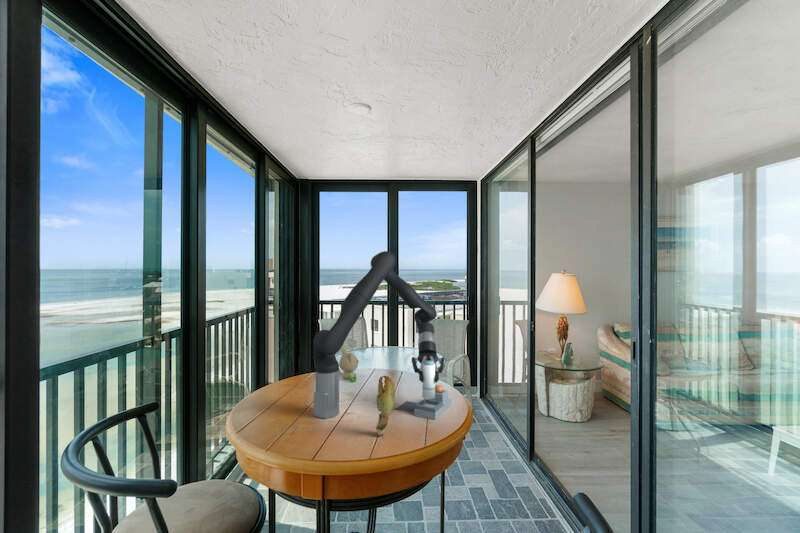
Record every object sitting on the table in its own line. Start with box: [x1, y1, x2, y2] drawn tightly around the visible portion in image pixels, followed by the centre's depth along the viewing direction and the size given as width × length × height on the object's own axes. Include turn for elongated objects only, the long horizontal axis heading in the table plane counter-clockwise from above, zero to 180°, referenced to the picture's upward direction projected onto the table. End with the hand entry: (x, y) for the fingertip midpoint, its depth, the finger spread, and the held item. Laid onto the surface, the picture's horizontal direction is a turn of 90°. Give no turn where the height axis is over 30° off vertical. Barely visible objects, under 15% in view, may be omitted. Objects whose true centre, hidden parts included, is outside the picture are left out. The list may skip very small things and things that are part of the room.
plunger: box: [435, 384, 444, 393], centre depth 150 cm, size 3×3×2 cm
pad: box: [394, 400, 419, 414], centre depth 148 cm, size 10×10×1 cm
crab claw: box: [375, 375, 396, 437], centre depth 123 cm, size 7×5×20 cm
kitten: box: [338, 348, 359, 383], centre depth 190 cm, size 15×10×15 cm
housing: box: [413, 389, 453, 421], centre depth 145 cm, size 17×9×6 cm, turn 151°
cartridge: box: [422, 360, 436, 399], centre depth 142 cm, size 5×5×14 cm
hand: (429, 381), depth 140 cm, fingers closed on cartridge, 5 cm apart
